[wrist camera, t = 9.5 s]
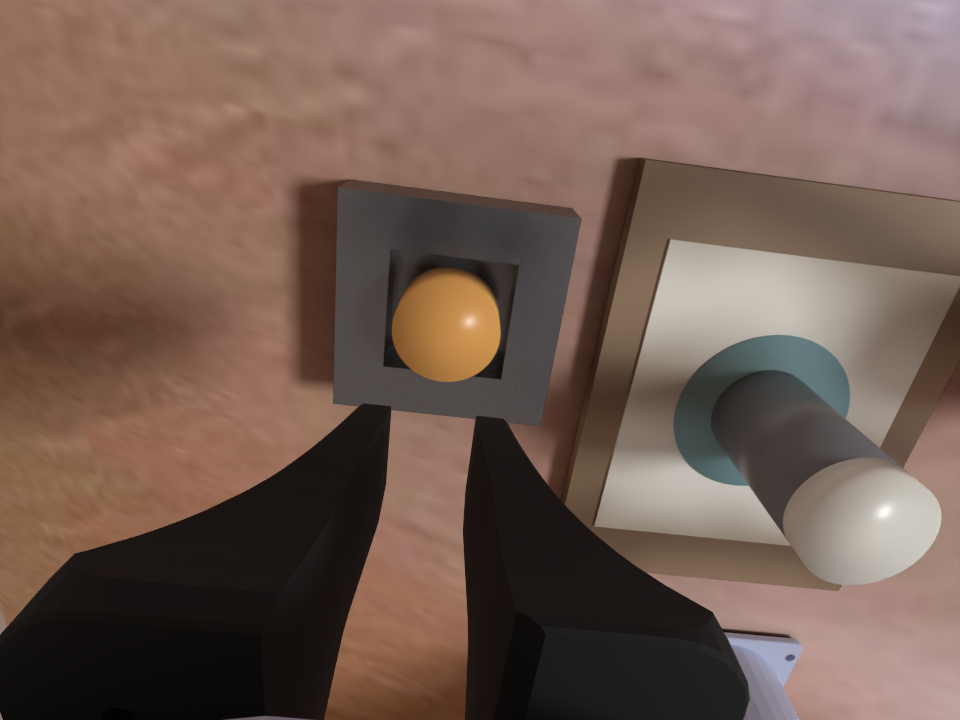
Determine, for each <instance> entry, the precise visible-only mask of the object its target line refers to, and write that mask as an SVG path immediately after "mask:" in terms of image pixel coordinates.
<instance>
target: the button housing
mask: <svg viewBox="0 0 960 720" xmlns="http://www.w3.org/2000/svg"><path fill="white" fill-rule="evenodd" d="M580 224H581V217H580V216H579V215H578V214H577V213H576V212H575V211H574V210H573V208H566V207H558V206H550V205H543V204H535V203H527V202H519V201H512V200H504V199H496V198H488V197H481V196H473V195H465V194H458V193H450V192H442V191H434V190H427V189H419V188H411V187H404V186H396V185H388V184H380V183H373V182H365V181H357V180H349V181H347V182H346V183H344V184H342V185H341V186H339V187H338V198H337V246H336V293H335V341H334V388H333V404H342V405H351V406H360V405H362V404H363V403H365V404H374V405H384V406H391V410H397V411H406V412H415V413H425V414H434V415H443V416H452V417H462V418H471V419H476V416H485V417H494V418H503V419H505V421H506V422H508V423H517V424H526V425H535V426H541V421H542V416H543V411H544V406H545V401H546V396H547V391H548V386H549V381H550V376H551V371H552V366H553V361H554V356H555V351H556V346H557V340H558V335H559V330H560V325H561V320H562V315H563V310H564V305H565V300H566V295H567V290H568V285H569V280H570V275H571V270H572V265H573V260H574V254H575V249H576V244H577V239H578V234H579V229H580ZM439 267H457V268H461V269H465V270H468V271H470V272H472V273H474V274H475V275H477V276H478V277H480V278H481V279H482V280H483V281H484V282H485V283H486V284H487V285H488V286H489V287H490V289H491V290H492V292H493V294H494V296H495V298H496V301H497V304H498V309H499V318H500V330H501V335H500V343H499V347H498V349H497V352H496V354H495V356H494V358H493V359H492V360H491V362H490V363H489V364H488V365H487V366H486V367H485V368H484V369H483V370H482V371H480V372H479V373H477V374H476V375H474V376H472V377H470V378H467V379H464V380H461V381H455V382H440V381H434V380H431V379H428V378H425V377H423V376H421V375H419V374H417V373H416V372H414V371H413V370H412V369H410V368H409V367H408V366H407V365H406V364H405V363H404V362H403V360H402V359H401V358H400V356H399V354H398V353H397V351H396V348H395V346H394V342H393V338H392V323H393V318H394V315H395V312H396V309H397V307H398V304H399V302H400V299H401V297H402V295H403V293H404V291H405V289H406V288H407V286H408V285H409V284H410V283H411V281H413V280H414V279H415V278H416V277H417V276H419V275H420V274H422V273H424V272H426V271H428V270H431V269H434V268H439Z"/></svg>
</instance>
